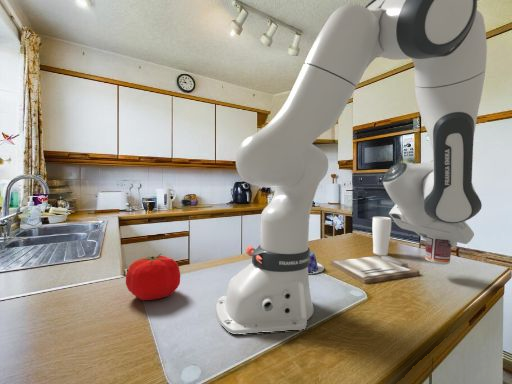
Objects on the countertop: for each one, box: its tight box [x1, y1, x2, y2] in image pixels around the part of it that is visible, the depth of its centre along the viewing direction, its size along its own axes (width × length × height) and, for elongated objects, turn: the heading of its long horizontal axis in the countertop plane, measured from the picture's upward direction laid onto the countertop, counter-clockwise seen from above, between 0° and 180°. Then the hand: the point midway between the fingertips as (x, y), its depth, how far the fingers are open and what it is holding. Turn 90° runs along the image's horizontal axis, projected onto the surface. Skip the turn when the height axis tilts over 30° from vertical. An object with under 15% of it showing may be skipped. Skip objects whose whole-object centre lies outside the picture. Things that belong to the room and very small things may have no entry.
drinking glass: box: [371, 216, 392, 256], centre depth 95 cm, size 7×7×15 cm
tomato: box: [125, 252, 181, 301], centre depth 59 cm, size 11×13×10 cm
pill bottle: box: [424, 235, 452, 265], centre depth 72 cm, size 6×6×11 cm
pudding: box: [308, 251, 325, 274], centre depth 80 cm, size 12×12×5 cm
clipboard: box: [329, 255, 421, 284], centre depth 79 cm, size 22×16×2 cm
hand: (439, 241), depth 72 cm, fingers closed on pill bottle, 6 cm apart
